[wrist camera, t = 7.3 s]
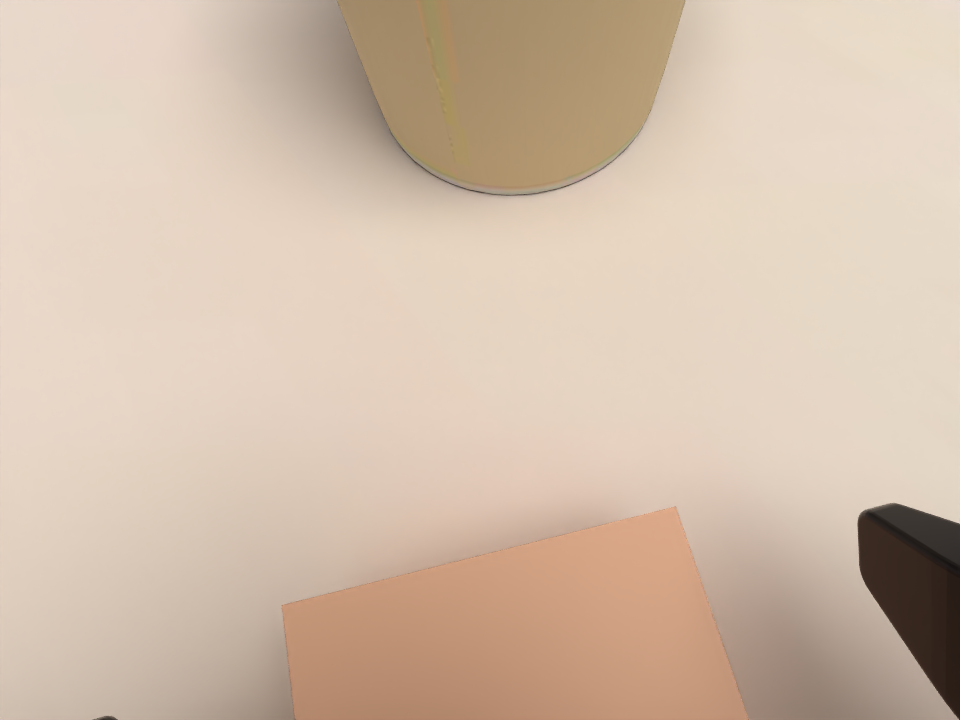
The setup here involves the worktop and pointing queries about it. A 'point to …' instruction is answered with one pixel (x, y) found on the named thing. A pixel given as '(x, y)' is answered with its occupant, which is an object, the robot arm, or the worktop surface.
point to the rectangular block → (522, 636)
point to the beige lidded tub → (513, 83)
